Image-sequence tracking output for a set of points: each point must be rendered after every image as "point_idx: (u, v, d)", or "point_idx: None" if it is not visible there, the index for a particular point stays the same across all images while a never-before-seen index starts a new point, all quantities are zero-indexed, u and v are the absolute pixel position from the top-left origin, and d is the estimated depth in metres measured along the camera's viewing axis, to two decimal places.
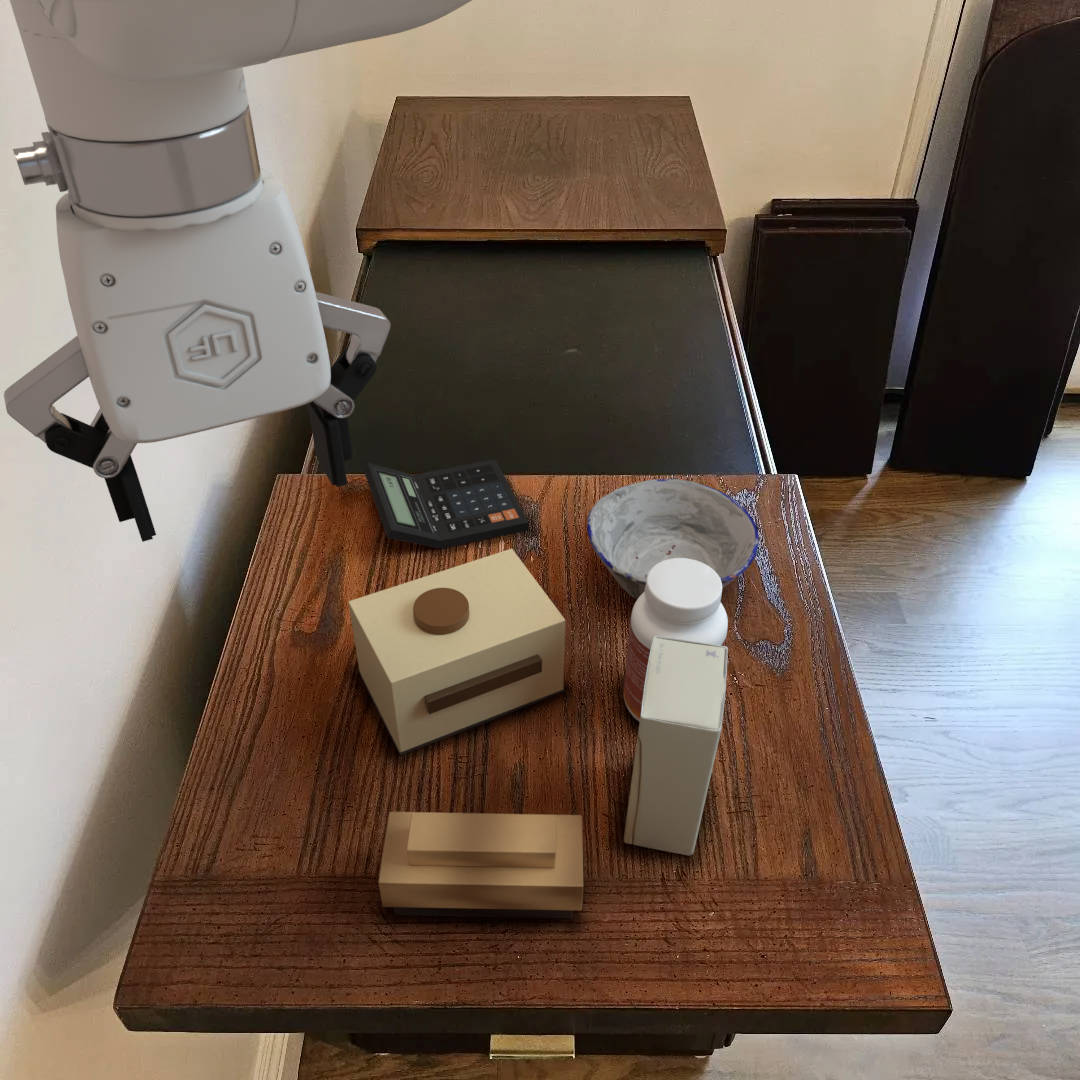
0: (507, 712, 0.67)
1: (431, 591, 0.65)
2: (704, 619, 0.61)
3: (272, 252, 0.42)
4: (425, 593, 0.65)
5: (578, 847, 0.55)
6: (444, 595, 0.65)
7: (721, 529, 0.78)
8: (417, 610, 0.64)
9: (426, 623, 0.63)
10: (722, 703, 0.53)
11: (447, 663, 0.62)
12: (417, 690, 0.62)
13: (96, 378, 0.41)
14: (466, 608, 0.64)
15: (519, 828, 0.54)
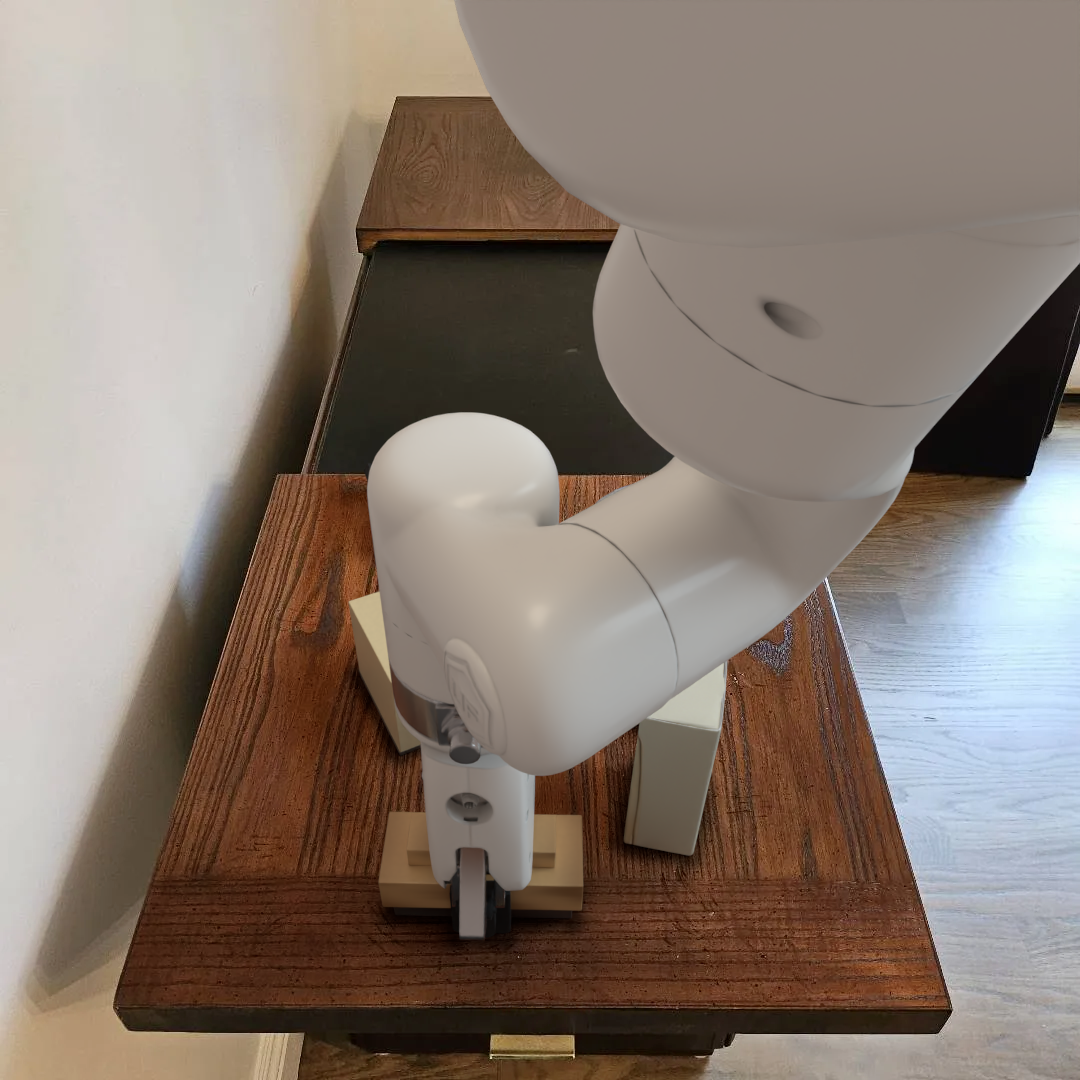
0: None
1: None
2: None
3: None
4: None
5: (578, 847, 0.55)
6: None
7: None
8: None
9: None
10: (722, 703, 0.53)
11: None
12: None
13: (522, 856, 0.47)
14: None
15: None
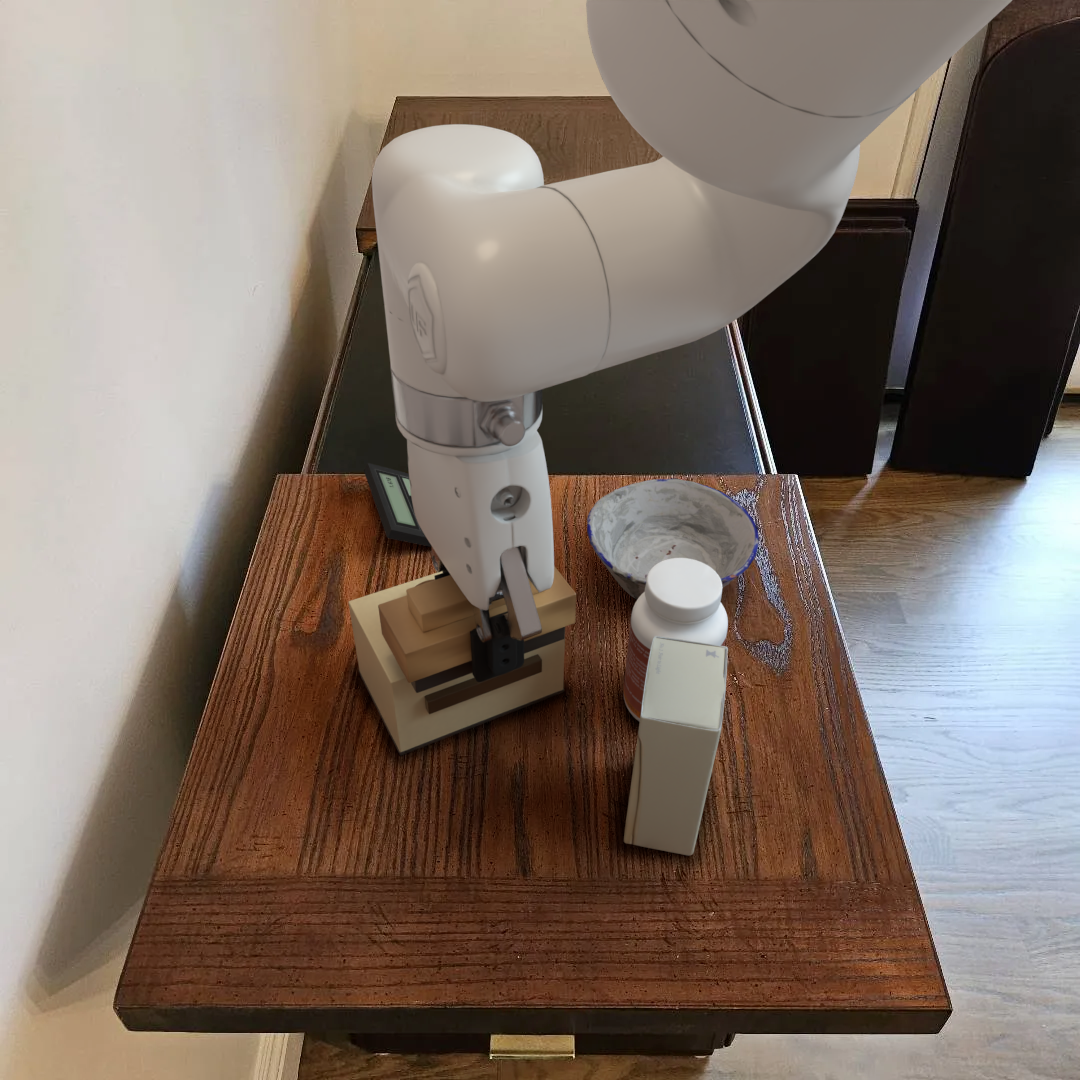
0: (507, 712, 0.67)
1: None
2: (704, 619, 0.61)
3: None
4: (420, 584, 0.66)
5: (554, 571, 0.61)
6: None
7: (721, 529, 0.78)
8: None
9: None
10: (722, 703, 0.53)
11: None
12: None
13: (552, 546, 0.53)
14: None
15: None
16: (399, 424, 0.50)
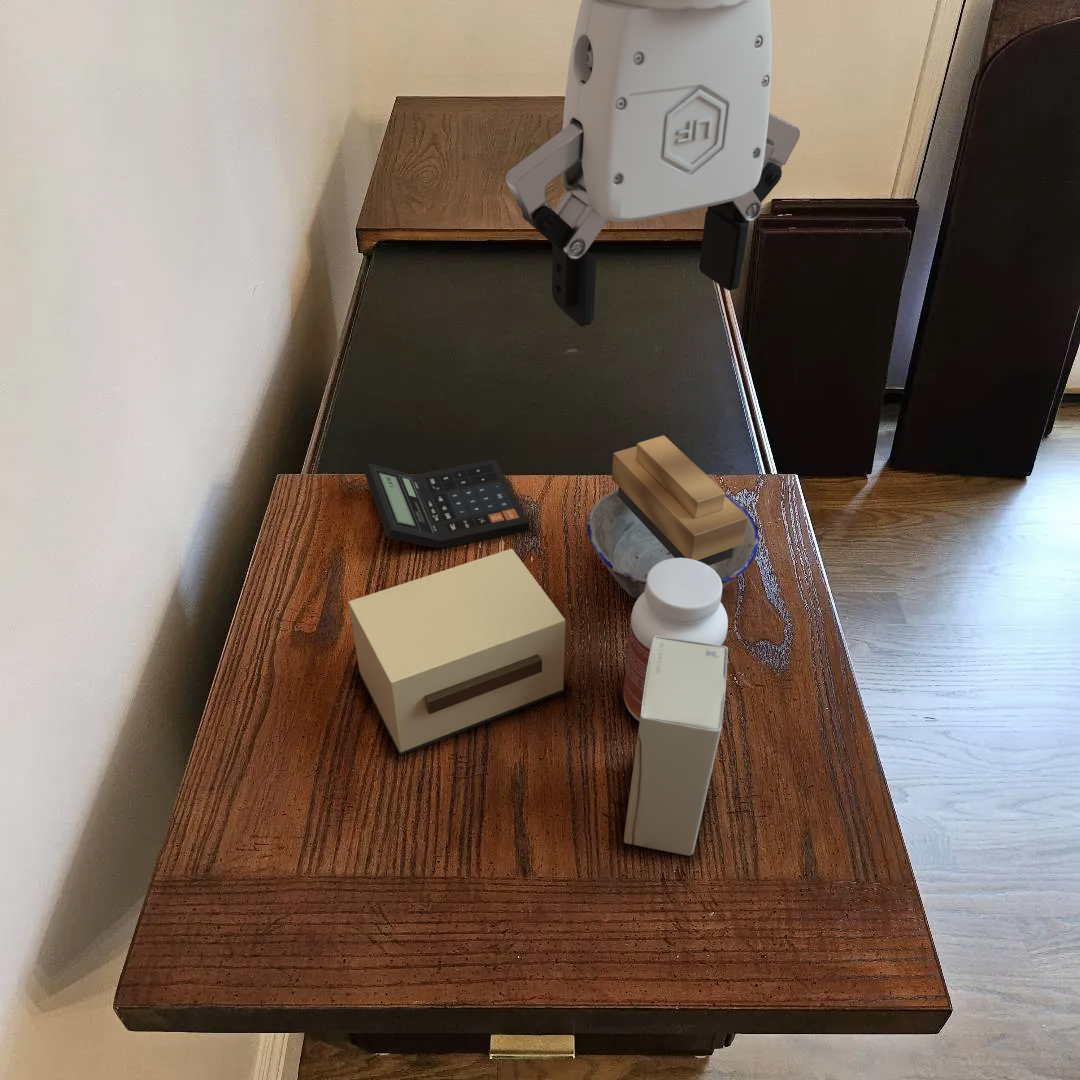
0: (507, 712, 0.67)
1: None
2: (704, 619, 0.61)
3: (754, 45, 0.48)
4: None
5: (721, 523, 0.69)
6: None
7: None
8: None
9: None
10: (722, 703, 0.53)
11: (447, 663, 0.62)
12: (417, 690, 0.62)
13: (603, 154, 0.48)
14: None
15: (698, 481, 0.70)
16: None
